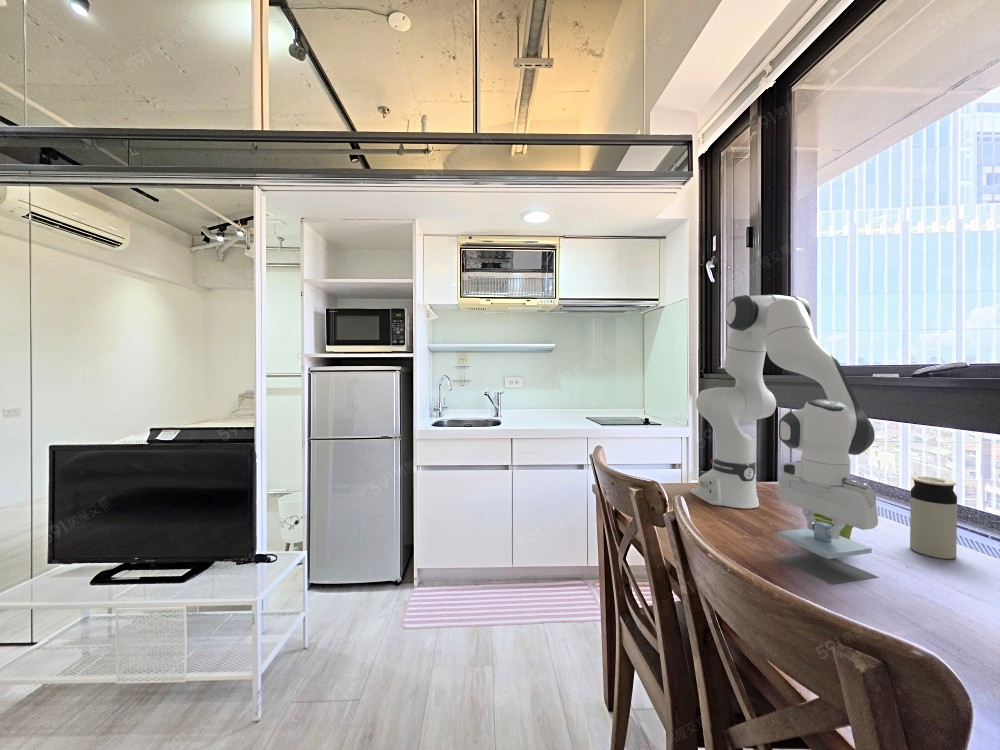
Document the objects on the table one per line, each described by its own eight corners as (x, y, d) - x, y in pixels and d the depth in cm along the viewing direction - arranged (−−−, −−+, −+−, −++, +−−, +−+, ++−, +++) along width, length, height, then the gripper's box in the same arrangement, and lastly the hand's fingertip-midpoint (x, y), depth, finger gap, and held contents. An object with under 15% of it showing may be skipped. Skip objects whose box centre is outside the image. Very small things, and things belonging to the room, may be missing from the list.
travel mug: (920, 556, 102) (921, 482, 102) (903, 544, 109) (904, 474, 109) (964, 562, 99) (965, 485, 99) (943, 549, 106) (944, 477, 106)
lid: (777, 535, 100) (777, 517, 100) (817, 531, 103) (818, 512, 103) (828, 559, 88) (828, 537, 88) (871, 552, 91) (872, 532, 91)
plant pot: (865, 560, 100) (865, 524, 100) (820, 557, 102) (820, 521, 101) (842, 544, 109) (842, 511, 109) (800, 541, 111) (801, 508, 111)
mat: (776, 560, 100) (776, 557, 100) (819, 554, 103) (819, 551, 103) (832, 587, 87) (832, 584, 87) (879, 580, 90) (879, 577, 90)
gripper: (887, 485, 86) (885, 552, 86) (794, 461, 106) (793, 516, 106) (863, 487, 84) (861, 555, 85) (774, 463, 104) (772, 518, 105)
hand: (822, 533), depth 96 cm, fingers closed on lid, 3 cm apart
